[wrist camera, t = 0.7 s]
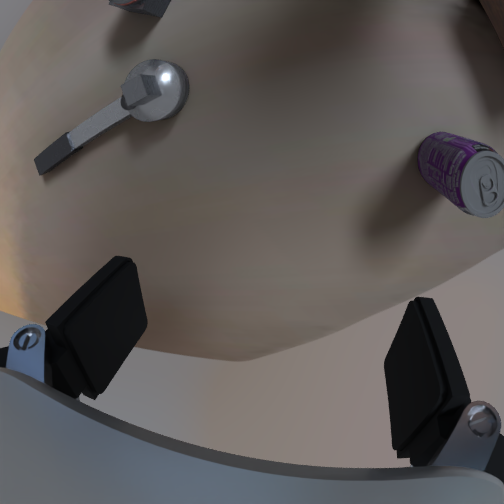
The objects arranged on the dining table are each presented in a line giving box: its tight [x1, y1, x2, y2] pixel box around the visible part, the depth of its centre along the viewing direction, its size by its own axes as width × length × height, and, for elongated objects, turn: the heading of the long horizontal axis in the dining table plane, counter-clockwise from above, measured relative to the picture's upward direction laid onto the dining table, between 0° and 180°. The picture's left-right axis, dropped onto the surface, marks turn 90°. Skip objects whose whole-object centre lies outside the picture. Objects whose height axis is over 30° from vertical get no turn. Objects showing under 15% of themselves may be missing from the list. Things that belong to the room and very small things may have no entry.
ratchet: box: [34, 59, 189, 175], centre depth 33 cm, size 30×8×6 cm, turn 109°
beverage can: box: [418, 132, 504, 218], centre depth 25 cm, size 7×7×12 cm
